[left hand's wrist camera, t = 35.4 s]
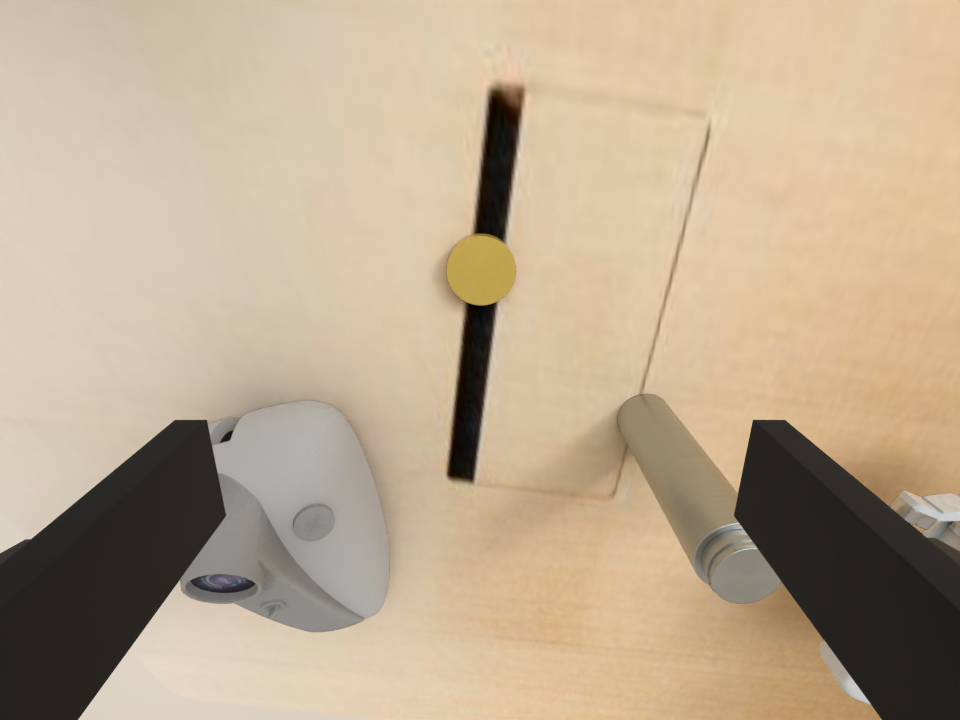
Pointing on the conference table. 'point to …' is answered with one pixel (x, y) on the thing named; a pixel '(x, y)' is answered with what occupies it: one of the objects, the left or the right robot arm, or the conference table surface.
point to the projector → (294, 521)
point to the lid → (481, 269)
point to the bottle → (695, 501)
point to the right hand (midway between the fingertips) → (856, 555)
